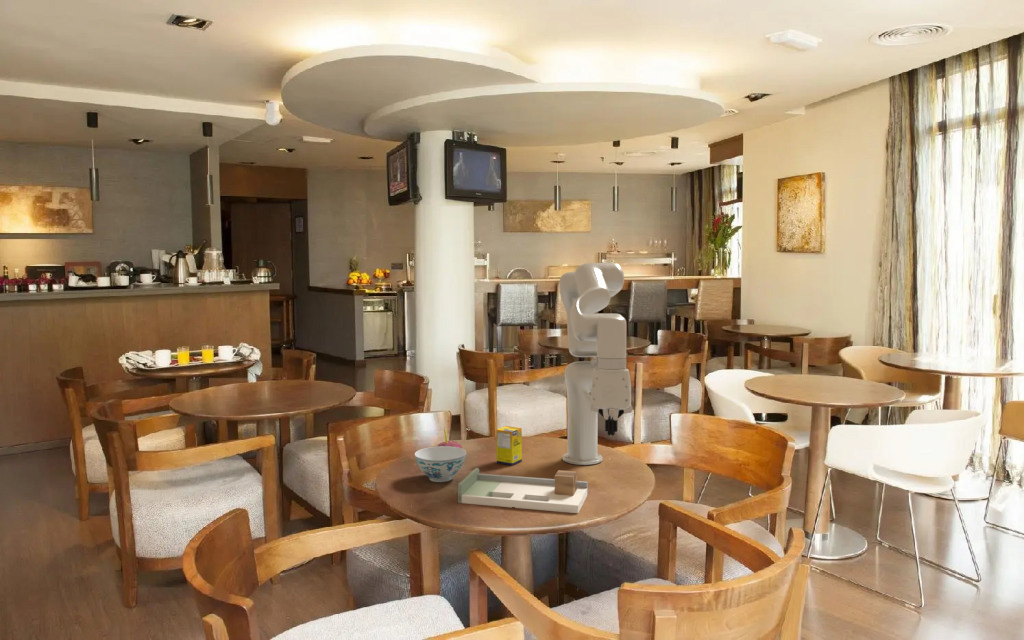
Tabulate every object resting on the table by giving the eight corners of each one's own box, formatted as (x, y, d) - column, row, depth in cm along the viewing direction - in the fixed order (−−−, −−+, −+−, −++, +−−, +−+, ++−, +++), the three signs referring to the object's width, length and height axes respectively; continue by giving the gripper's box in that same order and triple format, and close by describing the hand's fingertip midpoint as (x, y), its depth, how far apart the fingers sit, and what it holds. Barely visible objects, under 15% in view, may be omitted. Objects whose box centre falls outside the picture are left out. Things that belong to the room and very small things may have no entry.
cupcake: (451, 469, 215) (451, 430, 214) (430, 465, 220) (429, 427, 219) (468, 462, 223) (467, 425, 222) (446, 458, 227) (446, 422, 226)
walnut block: (558, 488, 190) (558, 470, 190) (576, 489, 189) (576, 471, 188) (554, 494, 185) (554, 475, 185) (573, 495, 184) (573, 477, 183)
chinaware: (477, 477, 206) (476, 452, 206) (438, 490, 196) (437, 463, 195) (443, 468, 217) (442, 443, 216) (404, 479, 206) (404, 453, 205)
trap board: (476, 485, 200) (475, 468, 199) (587, 494, 191) (587, 476, 191) (458, 502, 185) (457, 484, 185) (578, 513, 177) (578, 493, 176)
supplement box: (522, 461, 223) (522, 427, 222) (512, 466, 218) (512, 431, 217) (506, 458, 226) (506, 425, 226) (496, 463, 221) (496, 429, 220)
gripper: (580, 365, 179) (580, 436, 181) (639, 366, 175) (639, 439, 177) (585, 361, 186) (585, 429, 188) (642, 362, 182) (641, 432, 184)
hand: (611, 434), depth 182 cm, fingers closed
